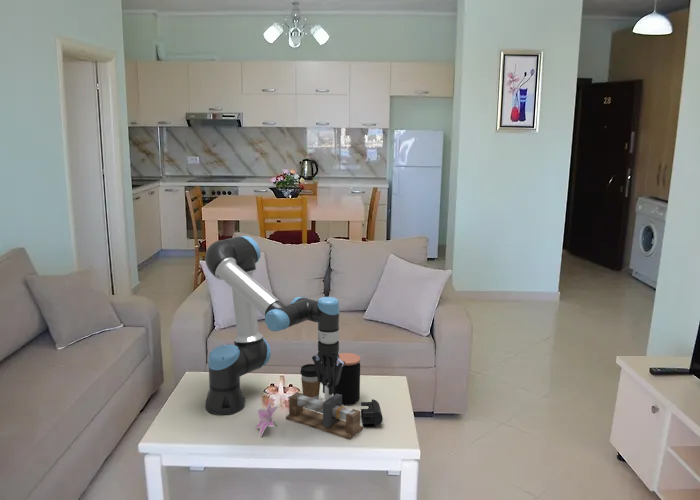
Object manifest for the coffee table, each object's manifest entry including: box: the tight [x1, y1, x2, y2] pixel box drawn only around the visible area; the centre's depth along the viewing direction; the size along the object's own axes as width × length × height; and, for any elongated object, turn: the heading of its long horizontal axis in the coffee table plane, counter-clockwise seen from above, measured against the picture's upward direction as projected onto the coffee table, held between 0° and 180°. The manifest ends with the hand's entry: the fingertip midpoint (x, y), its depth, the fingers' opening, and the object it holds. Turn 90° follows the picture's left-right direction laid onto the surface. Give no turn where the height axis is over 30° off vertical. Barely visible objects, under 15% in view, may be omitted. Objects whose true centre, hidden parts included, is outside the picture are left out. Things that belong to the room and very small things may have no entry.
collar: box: [322, 394, 343, 428], centre depth 219 cm, size 2×9×9 cm, turn 149°
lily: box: [255, 401, 279, 438], centre depth 217 cm, size 12×12×10 cm
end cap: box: [360, 399, 384, 429], centre depth 224 cm, size 10×7×7 cm
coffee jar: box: [332, 352, 361, 406], centre depth 240 cm, size 11×11×18 cm
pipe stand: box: [285, 391, 364, 441], centre depth 222 cm, size 28×9×8 cm, turn 59°
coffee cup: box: [299, 363, 321, 400], centre depth 238 cm, size 8×8×15 cm
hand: (328, 401), depth 219 cm, fingers closed
